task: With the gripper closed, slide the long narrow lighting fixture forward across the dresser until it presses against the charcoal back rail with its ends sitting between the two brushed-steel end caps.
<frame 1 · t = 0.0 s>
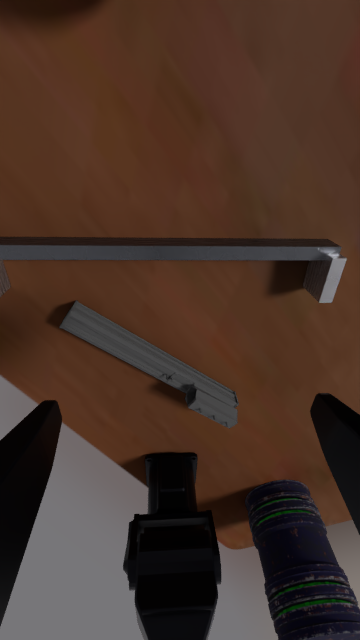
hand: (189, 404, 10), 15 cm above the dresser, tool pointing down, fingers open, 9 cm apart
end cap rail: (160, 263, 22), on the dresser
storage jar: (276, 496, 43), on the dresser
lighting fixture: (157, 357, 28), on the dresser
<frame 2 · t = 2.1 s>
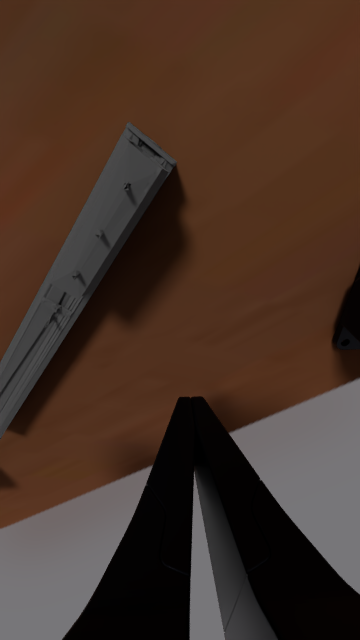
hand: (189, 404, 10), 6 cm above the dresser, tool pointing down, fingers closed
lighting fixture: (62, 310, 15), on the dresser
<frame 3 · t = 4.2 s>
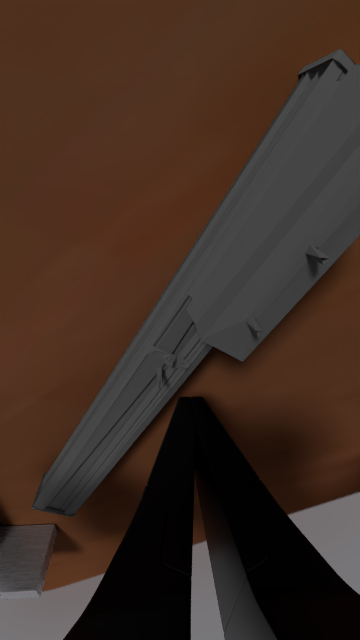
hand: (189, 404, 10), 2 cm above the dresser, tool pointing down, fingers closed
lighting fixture: (155, 350, 11), on the dresser, touching gripper
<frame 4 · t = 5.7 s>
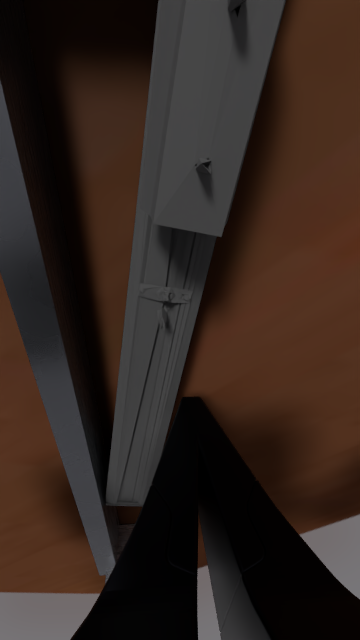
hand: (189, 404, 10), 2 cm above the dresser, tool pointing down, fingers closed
end cap rail: (118, 377, 11), on the dresser
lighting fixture: (165, 304, 10), on the dresser, touching end cap rail, gripper
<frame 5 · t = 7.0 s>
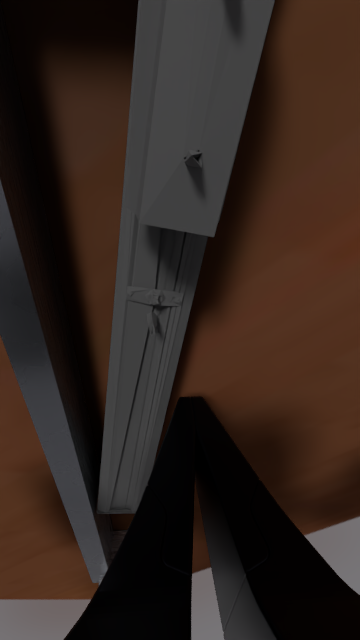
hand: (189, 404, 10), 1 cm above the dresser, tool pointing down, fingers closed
end cap rail: (109, 382, 11), on the dresser
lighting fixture: (156, 306, 10), on the dresser, touching gripper
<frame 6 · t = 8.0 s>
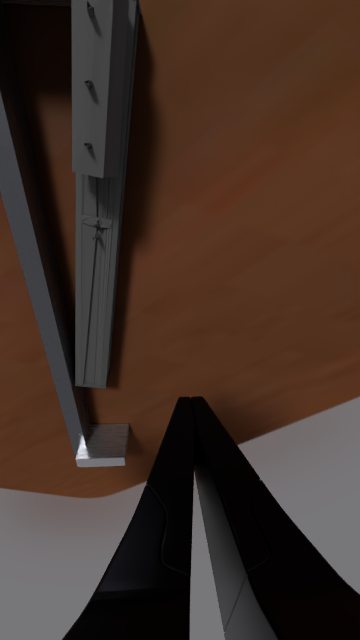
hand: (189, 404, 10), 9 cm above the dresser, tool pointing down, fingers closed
end cap rail: (80, 292, 17), on the dresser
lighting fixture: (108, 240, 16), on the dresser
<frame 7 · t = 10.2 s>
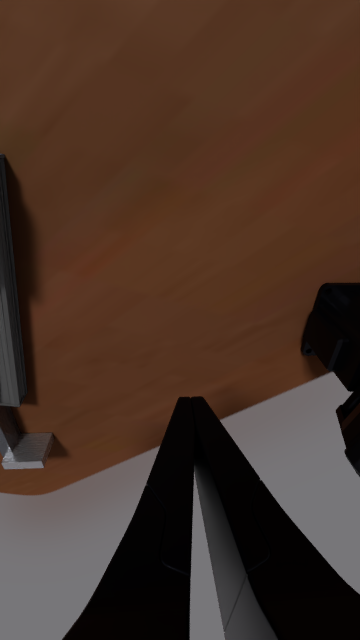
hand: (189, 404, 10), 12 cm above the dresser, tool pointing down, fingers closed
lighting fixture: (11, 295, 21), on the dresser
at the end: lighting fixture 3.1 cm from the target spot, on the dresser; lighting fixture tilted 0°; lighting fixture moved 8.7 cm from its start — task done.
